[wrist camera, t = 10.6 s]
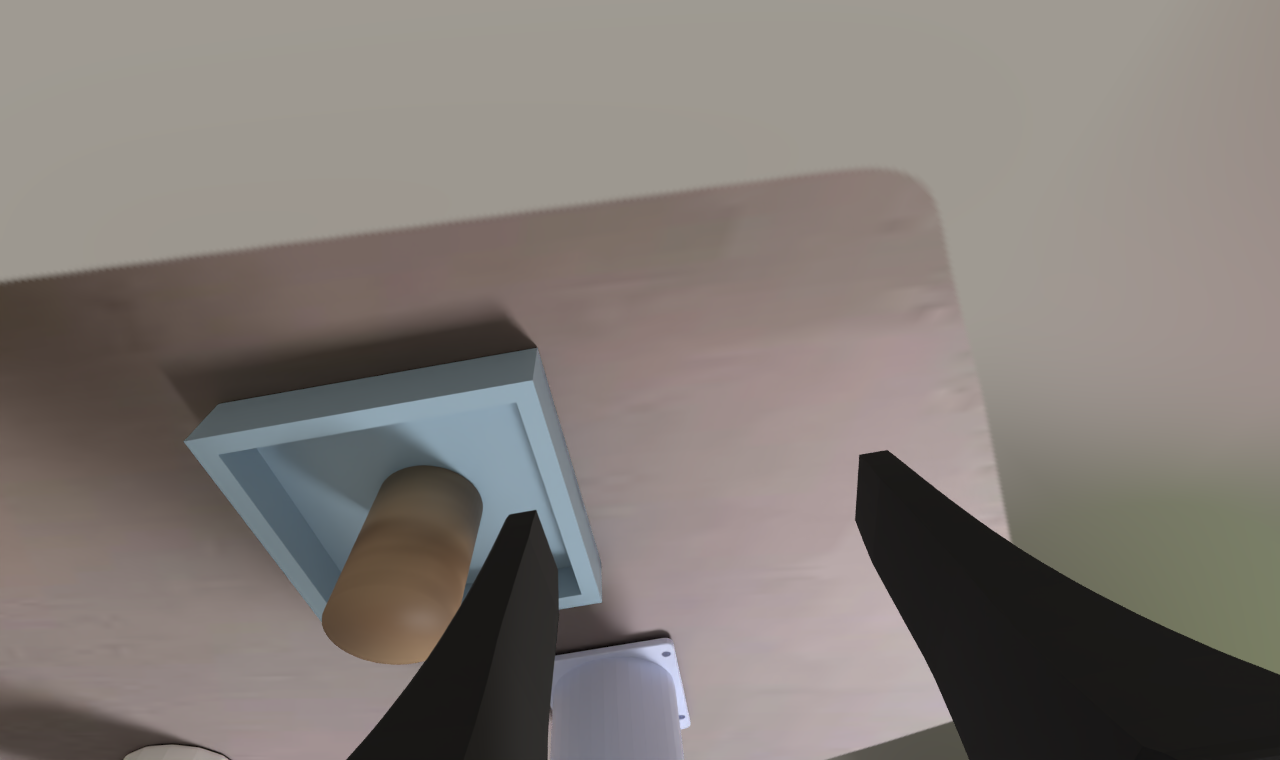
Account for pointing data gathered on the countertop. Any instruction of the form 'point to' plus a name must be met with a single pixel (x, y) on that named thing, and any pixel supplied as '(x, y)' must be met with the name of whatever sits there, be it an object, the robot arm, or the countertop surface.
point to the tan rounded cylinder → (406, 567)
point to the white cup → (173, 753)
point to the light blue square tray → (399, 464)
